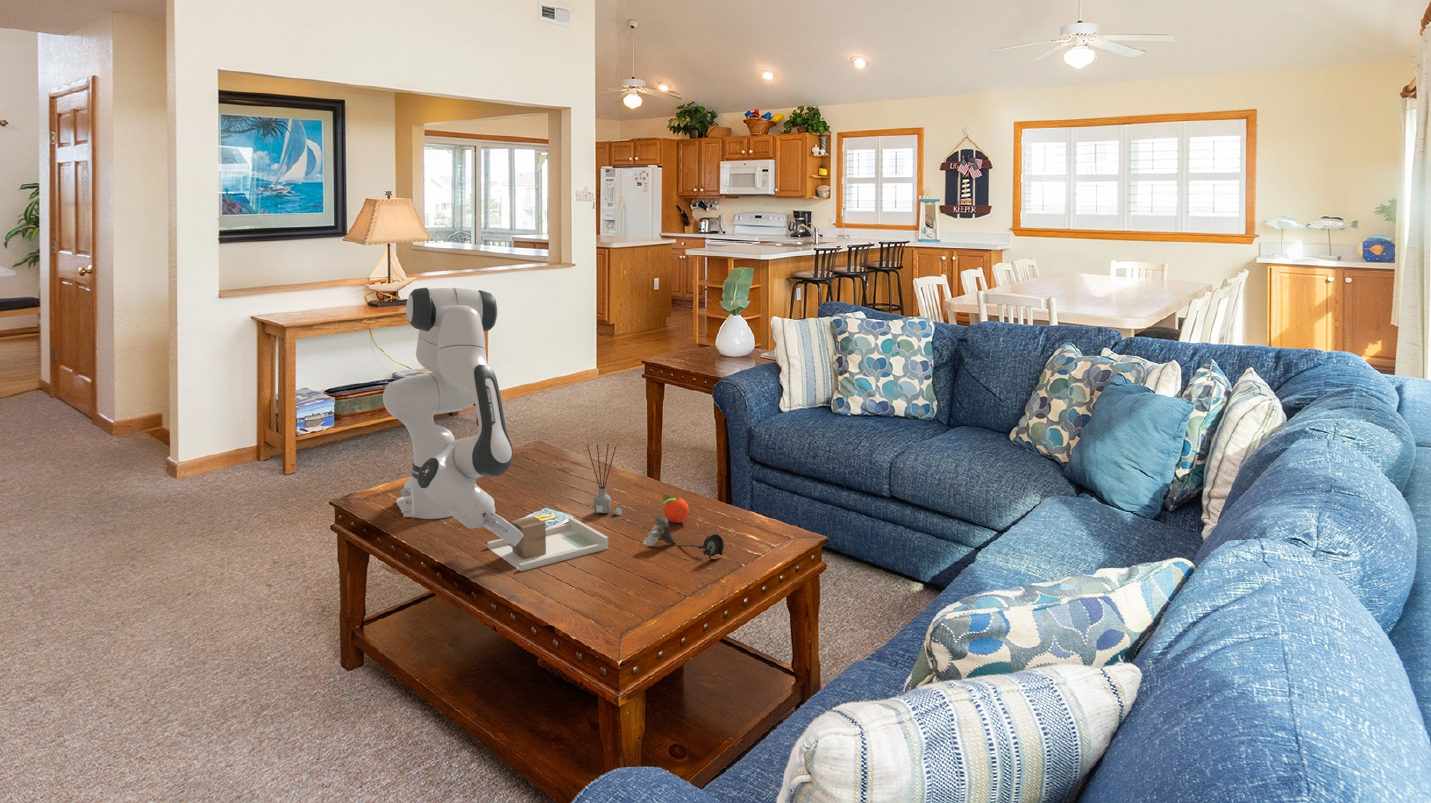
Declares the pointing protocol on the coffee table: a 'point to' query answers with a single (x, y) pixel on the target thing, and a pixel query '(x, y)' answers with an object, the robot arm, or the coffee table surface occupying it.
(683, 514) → the clementine
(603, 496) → the reed diffuser
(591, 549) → the white rimmed tray
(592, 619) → the coffee table surface
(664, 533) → the artificial flower
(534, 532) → the walnut block
